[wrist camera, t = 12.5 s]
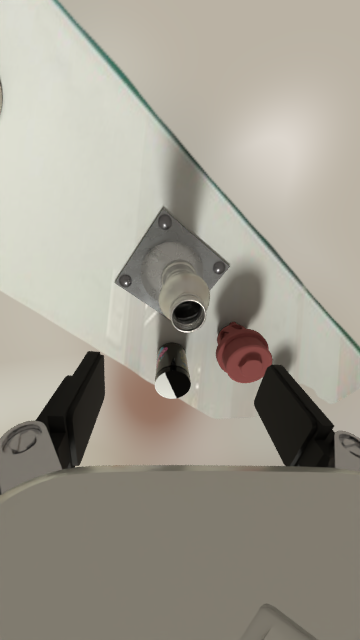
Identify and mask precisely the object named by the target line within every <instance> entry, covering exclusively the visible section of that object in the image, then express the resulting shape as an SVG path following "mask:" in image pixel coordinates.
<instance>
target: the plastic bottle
mask: <svg viewBox="0 0 360 640" xmlns="http://www.w3.org/2000/svg"><path fill="white" fill-rule="evenodd" d="M161 284H162V288H161V290H160V294H159V305H160V308H161V311H162V312H163V314H164V315H165V316H166V317H167V318H168V319H169V320H171V322H172V324H173V326H174V327H175V328H176V329H177V330H179V331H181V332H193V331H196V330H197V329H199V328H200V327H201V326H202V325H203V323H204V322H205V319H206V310H207V308H208V306H209V301H210V291H209V288H208V286H207V284H206V282H205V281H204V280H203V279H202V278H201V277H199V276H198V275H197V274H196V270H195V268H194V267H193V265H192V264H191V263H189V262H188V261H186V260H181V259H178V260H174V261H171V262H170V263H168V264H167V265H166V266H165V267H164V269H163V271H162V273H161Z"/></svg>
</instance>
